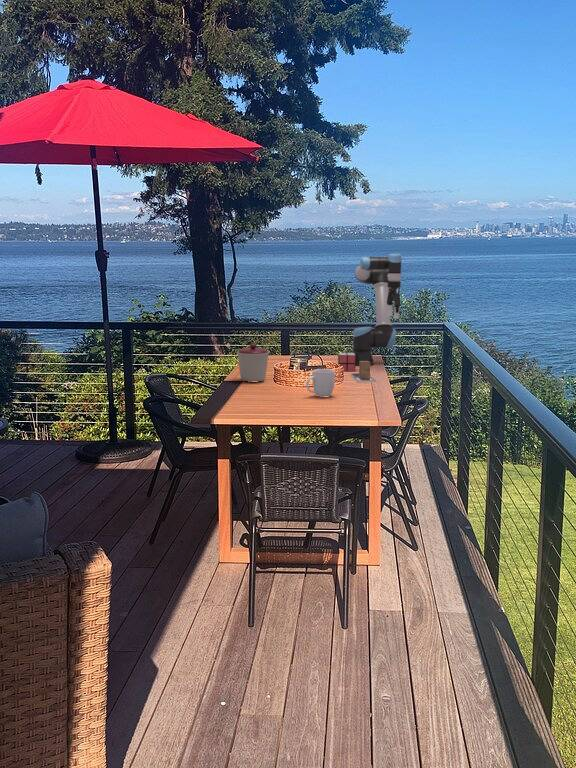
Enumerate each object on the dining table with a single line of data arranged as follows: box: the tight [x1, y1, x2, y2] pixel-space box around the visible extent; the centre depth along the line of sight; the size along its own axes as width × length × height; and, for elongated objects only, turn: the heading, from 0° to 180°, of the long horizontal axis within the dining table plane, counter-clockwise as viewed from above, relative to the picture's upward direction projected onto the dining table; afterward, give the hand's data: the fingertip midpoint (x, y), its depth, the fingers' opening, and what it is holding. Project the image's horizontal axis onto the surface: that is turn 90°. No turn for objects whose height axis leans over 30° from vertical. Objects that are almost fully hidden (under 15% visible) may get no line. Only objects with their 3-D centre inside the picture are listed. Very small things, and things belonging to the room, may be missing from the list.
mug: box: [305, 368, 336, 397], centre depth 399 cm, size 15×11×13 cm
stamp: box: [358, 361, 371, 380], centre depth 445 cm, size 5×5×10 cm
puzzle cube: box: [337, 352, 356, 373], centre depth 479 cm, size 10×10×10 cm
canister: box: [236, 343, 270, 382], centre depth 440 cm, size 18×18×21 cm
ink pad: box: [349, 372, 359, 378], centre depth 457 cm, size 9×9×1 cm
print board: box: [351, 376, 377, 383], centre depth 446 cm, size 11×11×1 cm
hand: (393, 317), depth 469 cm, fingers open, 13 cm apart
